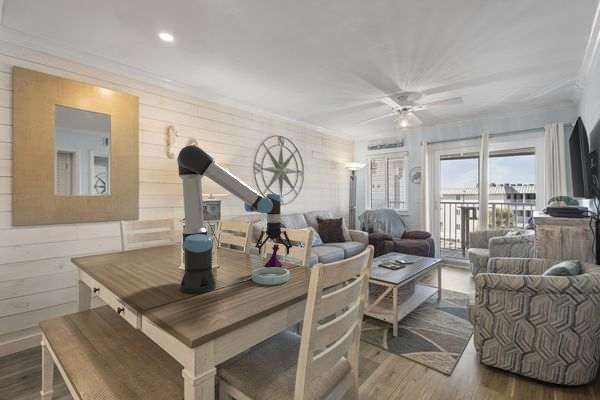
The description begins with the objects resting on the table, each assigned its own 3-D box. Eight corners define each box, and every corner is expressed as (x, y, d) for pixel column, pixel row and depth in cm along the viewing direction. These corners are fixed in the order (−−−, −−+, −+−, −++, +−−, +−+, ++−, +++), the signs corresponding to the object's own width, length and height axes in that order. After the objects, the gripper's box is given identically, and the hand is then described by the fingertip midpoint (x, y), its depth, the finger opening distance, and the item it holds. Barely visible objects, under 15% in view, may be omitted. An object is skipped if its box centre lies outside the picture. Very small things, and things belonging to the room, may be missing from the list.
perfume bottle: (282, 270, 161) (283, 238, 161) (274, 273, 155) (275, 240, 154) (272, 268, 165) (272, 237, 165) (263, 271, 159) (264, 239, 158)
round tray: (248, 284, 137) (248, 276, 137) (256, 273, 155) (256, 266, 155) (286, 285, 135) (286, 277, 135) (291, 274, 154) (291, 267, 154)
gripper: (249, 222, 156) (250, 261, 156) (295, 222, 154) (296, 262, 155) (252, 221, 163) (253, 258, 164) (297, 221, 162) (297, 258, 162)
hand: (274, 260), depth 159 cm, fingers open, 13 cm apart
